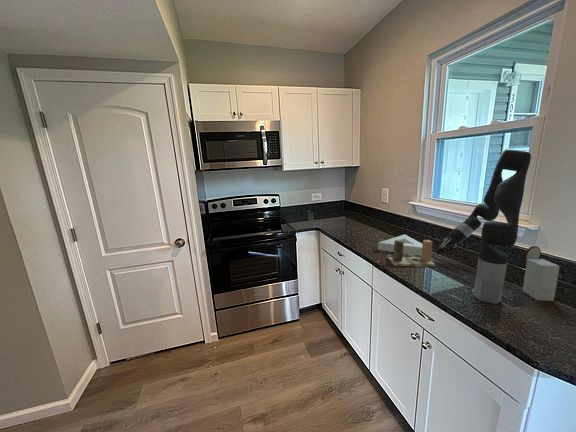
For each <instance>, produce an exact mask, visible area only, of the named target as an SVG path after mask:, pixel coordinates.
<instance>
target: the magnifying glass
mask: <svg viewBox="0 0 576 432" xmlns="http://www.w3.org/2000/svg"><path fill="white" fill-rule="evenodd" d="M541 254H542V251H541V248H540V247H539V246H537V245H532V246H530V247H528V248H527V249H526V250H525V253H524V256H523V258H524V259H523V260H524V262H525V264H526V263H527V259H541V258H540V257H541Z"/></svg>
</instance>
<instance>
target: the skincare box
mask: <svg viewBox="0 0 576 432" xmlns="http://www.w3.org/2000/svg"><path fill="white" fill-rule="evenodd" d="M559 272H560V265H558V264H556V263H554V262H551V261H549V260H546V259H544V258H539V259H527V263H525V272H524V278H523V286H522V292H523V293H524V294H526V295H528V296H530V297H531V298H533V299H534V300H536V301H540V302H542V301H544V302H554V300H555V295H556V290H557V285H558V277H559Z"/></svg>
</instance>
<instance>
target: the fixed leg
mask: <svg viewBox="0 0 576 432" xmlns="http://www.w3.org/2000/svg"><path fill="white" fill-rule="evenodd" d="M403 243H404V242H402V241H401V240H395V244H394V253H393V254H392V255H393V257H394V259H395V260H396V261H402V257H403V255H404V254H403Z"/></svg>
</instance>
